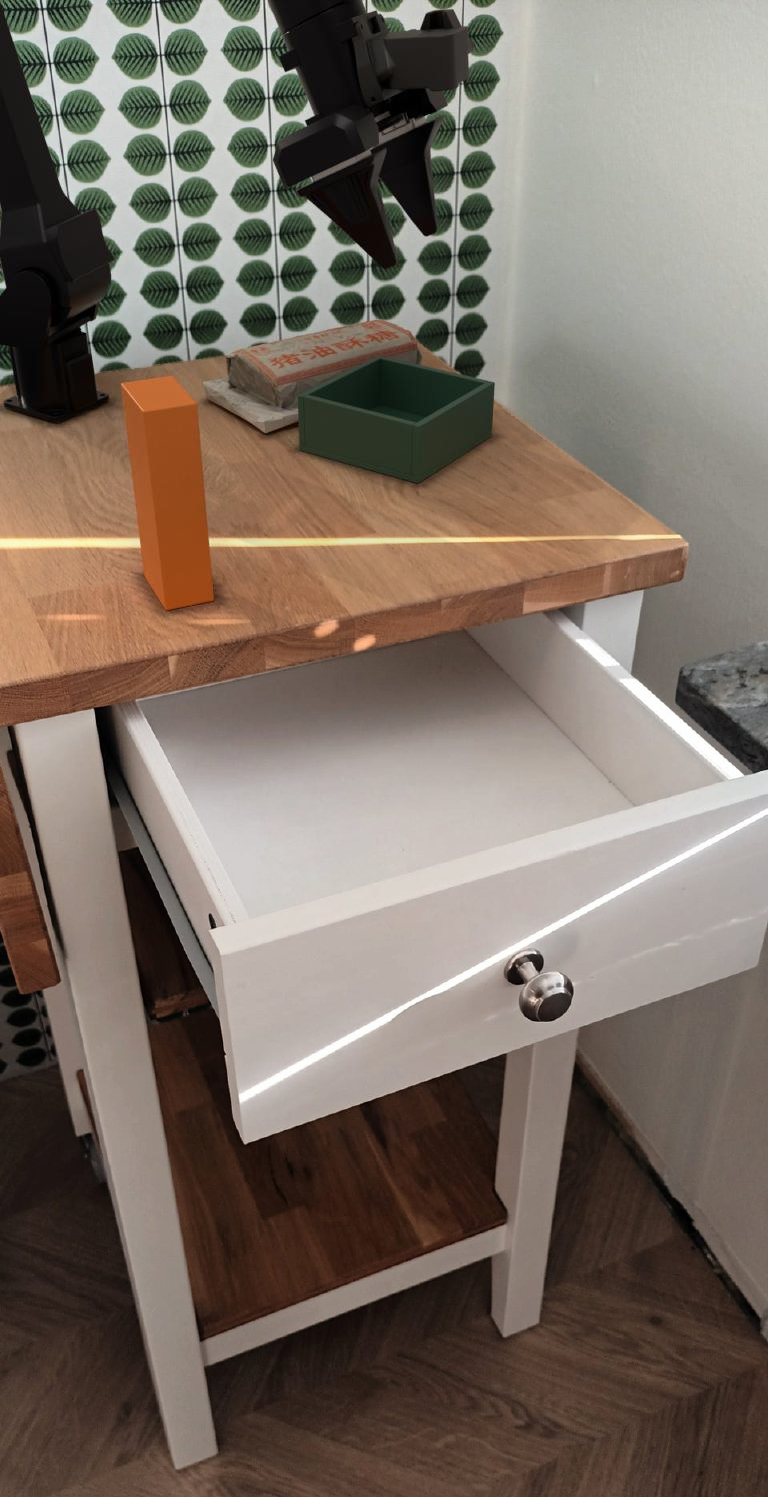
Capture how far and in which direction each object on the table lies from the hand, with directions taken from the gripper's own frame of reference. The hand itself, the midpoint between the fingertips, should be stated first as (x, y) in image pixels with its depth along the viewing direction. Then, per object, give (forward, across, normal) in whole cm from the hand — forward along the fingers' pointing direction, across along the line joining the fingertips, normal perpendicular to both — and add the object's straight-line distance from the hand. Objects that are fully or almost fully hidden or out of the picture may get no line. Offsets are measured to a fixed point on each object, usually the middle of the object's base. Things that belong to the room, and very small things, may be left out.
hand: (412, 249), depth 89 cm
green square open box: (+13, +2, +8) cm, 16 cm away
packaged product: (+10, +10, +17) cm, 22 cm away
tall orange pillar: (+11, -25, +13) cm, 31 cm away
